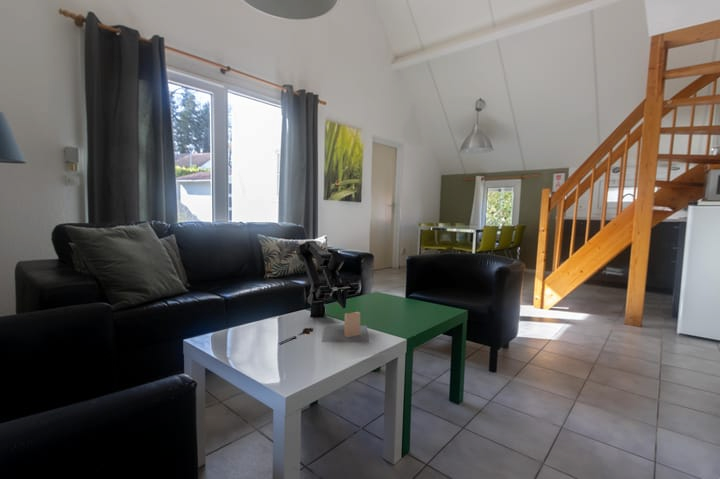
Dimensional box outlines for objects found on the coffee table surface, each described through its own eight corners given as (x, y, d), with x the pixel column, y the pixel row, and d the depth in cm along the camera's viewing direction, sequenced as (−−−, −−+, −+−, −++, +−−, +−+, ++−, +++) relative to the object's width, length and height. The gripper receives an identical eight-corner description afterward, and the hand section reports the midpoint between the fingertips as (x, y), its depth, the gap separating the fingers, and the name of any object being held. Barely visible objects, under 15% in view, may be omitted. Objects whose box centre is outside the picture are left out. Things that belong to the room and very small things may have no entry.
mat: (321, 343, 132) (321, 341, 132) (325, 326, 152) (325, 324, 152) (369, 343, 132) (369, 342, 132) (366, 327, 152) (366, 325, 152)
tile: (344, 335, 139) (344, 313, 138) (356, 333, 142) (357, 311, 141) (346, 337, 137) (347, 314, 137) (359, 335, 140) (360, 312, 140)
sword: (273, 351, 124) (273, 345, 124) (266, 348, 126) (266, 343, 126) (317, 331, 145) (317, 326, 145) (310, 330, 147) (310, 325, 147)
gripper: (345, 286, 163) (356, 315, 154) (307, 289, 153) (317, 321, 145) (353, 271, 156) (366, 301, 147) (315, 274, 146) (326, 306, 138)
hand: (344, 307), depth 144 cm, fingers closed
